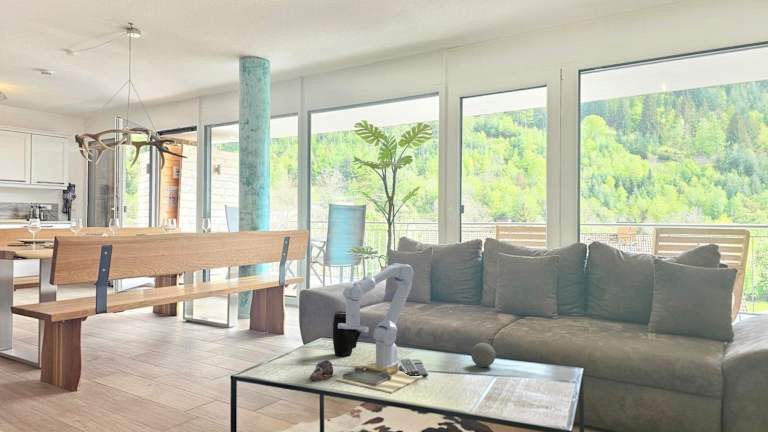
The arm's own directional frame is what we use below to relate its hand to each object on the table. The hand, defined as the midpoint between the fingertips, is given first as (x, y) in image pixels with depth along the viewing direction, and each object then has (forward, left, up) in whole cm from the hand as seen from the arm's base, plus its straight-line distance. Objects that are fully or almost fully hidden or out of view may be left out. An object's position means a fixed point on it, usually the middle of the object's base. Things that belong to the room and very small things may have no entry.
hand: (353, 347), depth 214 cm
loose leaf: (-2, +12, -9) cm, 15 cm away
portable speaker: (-17, -19, -10) cm, 27 cm away
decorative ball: (-35, +42, -10) cm, 56 cm away
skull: (+15, -5, -10) cm, 19 cm away
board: (+3, +16, -9) cm, 18 cm away
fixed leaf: (+7, +12, -9) cm, 16 cm away
